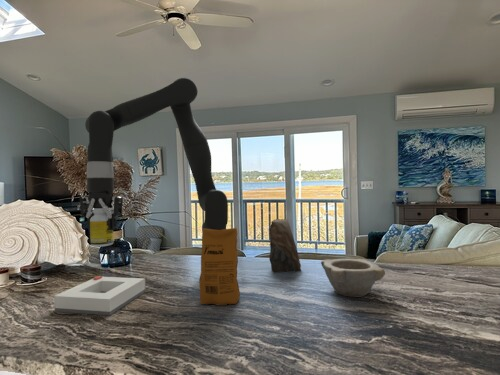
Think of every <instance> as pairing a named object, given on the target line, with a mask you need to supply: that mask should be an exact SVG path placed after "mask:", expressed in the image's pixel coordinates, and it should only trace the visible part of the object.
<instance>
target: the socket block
mask: <svg viewBox="0 0 500 375" xmlns="http://www.w3.org/2000/svg"><path fill="white" fill-rule="evenodd" d="M144 293H146V278H138V277H118V276H117V277H115V276H102V275H97V276H95V277H93V278H91V279H89V280H87V281H84V282H83V283H80V284H78V285H76V286H74V287H71V288H69V289H66V290H64V291H62V292H60V293H57V294H55V295H54V296H53V298H54V299H53V300H54V301H53V303H54V304H53V305H54V306H53V307H54V313H55V312H58V313H72V314H86V315H99V316H101V315H102V316H111V315H113V314H114V313H115V312H117V311H119V310H120V309H122V308H123V307H125V306H126V305H128V304H129V303H131V302H133V301H134V300H136V299H137V298H139V297H140V296H142V295H143V294H144Z"/></svg>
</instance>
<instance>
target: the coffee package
mask: <svg viewBox="0 0 500 375" xmlns="http://www.w3.org/2000/svg"><path fill="white" fill-rule="evenodd" d="M237 243H238V228H237V227H234V228H233V227H232V228H226V229H224V230H212V229H205V228H204V229H203V235H201V256H200V274H199V275H200V276H199V301H200V304H201V305H202V304H206V305H211V304H213V305H216V306H227V304H229V305H234V304H235V305H236V304H237V303H239V299H240V298H241V291H240V286H239V281H238V264H239V258H238V257H239V256H238V245H237Z"/></svg>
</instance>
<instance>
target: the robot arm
mask: <svg viewBox="0 0 500 375" xmlns="http://www.w3.org/2000/svg"><path fill="white" fill-rule="evenodd" d="M197 96H198V87H197V85H196V83H195V81H193V80H192V79H190V78H187V77H180V78H177V79H176V80H174V81H173V82H171V83H170V84H169V85H166V86H165V87H162V88H160V89H157V90H156V91H153V92H150V93H148V94H145V95H142V96H138V97H136V98H134V99H133V98H132V99H130V100H128V101H125V102H122V103H119V104H117V105H115V106H114V107H112V108H110V109H108V110H95V111H94V112H93V111H92V113H90V115H89V116H88V117H87V118H86V121H85V123H84V124H85V125H84V126H85V130H86V131H87V133H88V137H89V139H88V146H87V152H86V154H87V155H86V156H87V158H86V159H87V166H86V190H87V192H88V196H81V197H79V208H80V215H81V217H84V218H85V217H86V218H87V220H86V221H87V226H86V227H87V229H88V231H90V219H91V217H93V216H94V213H93V208H103V209H104V211H105V212H106V213H107V215H108V217H109V219H108V230H109V231H112V230H113V231H115V229H116V228H117V217H119V216H122V215H123V202H124V198H123V196H115V195H114V192H115V181H114V180H115V179H114V178H115V175H114V170H115V169H114V165H113V162H114V161H113V140H114V132H115V131H117V130H119V129H120V128H123V127H126V126H129V125H133V124H134V123H137V122H140V121H142V120H144V119H146V118H149V117H151V116H152V115H154V114H156V113H159V112H160V111H162V110H165V109H166V108H170V109H171V111H172V114H173V116H174V119H175V122H176V125H177V128H178V132H179V135H180V138H181V142H182V145H183V149H184V152H185V156H186V160H187V163H188V165H189V168H190V169H189V170H190V171H191V175H192V177H193V179H194V183H195V189H196V194H197V200H198V205H199V207H200V208H201V210H203V211H204V222H203V224H202V226H201V233H202V235H203V229H204V228H205V229H212V230H224V229H227V225H228V222H229V215H228V214H229V209H228V208H229V203H228V198H227V195H226V193H225V192H223V191H222V190H220V189H217V188H216V185H215V182H214V179H213V174H212V153H211V149H210V146H209V141H208V139H207V137H206V135H205V133H204V131H203V130H202V129H201V127H200V126H199V125H198V123H197V121H196V120H195V117H194V114H193V111H192V106H191V103H193V102H194V101H195V100H196V98H197ZM202 235H201V236H202Z"/></svg>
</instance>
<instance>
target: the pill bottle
mask: <svg viewBox="0 0 500 375" xmlns="http://www.w3.org/2000/svg"><path fill="white" fill-rule="evenodd" d="M93 213H94V216H93V217H91V219H90V230H89V232H90V233H89V234H90V236H89V237H90V246H91V247H99V248H100V247H108V246H112V245H113V244H114V230H112V231H109V230H108V219H109V217H108V215H107V213H106V212H105V211H104V209H103V208H93Z"/></svg>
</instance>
